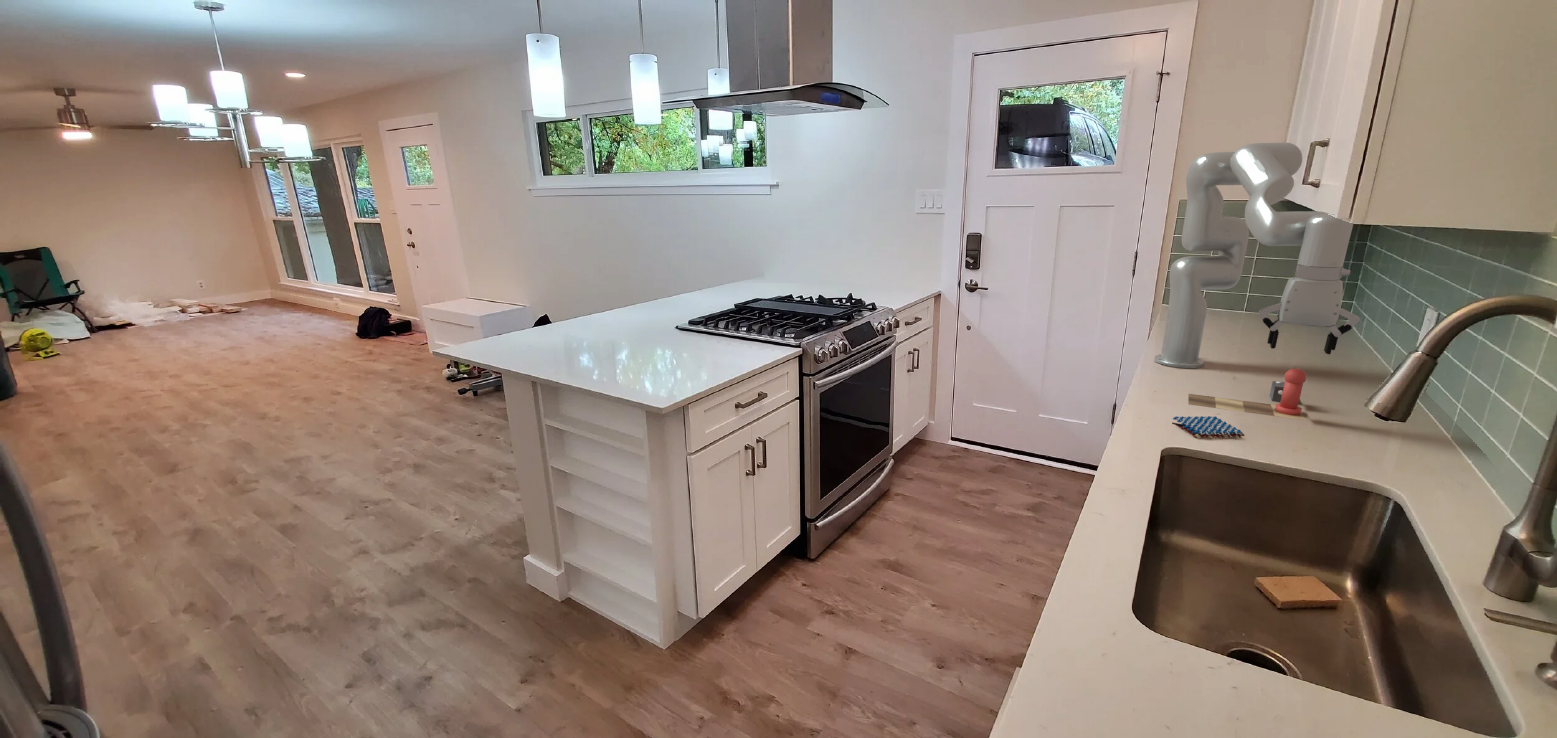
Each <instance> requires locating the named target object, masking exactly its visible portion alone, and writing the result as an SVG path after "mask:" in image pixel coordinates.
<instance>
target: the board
mask: <svg viewBox="0 0 1557 738" xmlns="http://www.w3.org/2000/svg"><path fill="white" fill-rule="evenodd" d="M1187 396H1188V399H1187V400H1188V402H1187V403H1188V405H1189V406H1190V405H1191V406H1198V407H1205V408H1212V409H1213V408H1214V409H1221V410H1228V411H1235V412H1242V413H1248V414H1249V413H1250V414H1256V415H1257V414H1258V415H1265V416H1271V417H1277V418H1279V417H1280V418H1285V419H1286V418H1287V419H1293V420H1301V421H1306V418H1305V415H1304V414H1303V411H1302V410H1301V413H1300V415H1286V414H1281V413H1278V412H1276V411H1275V407H1276V404H1271V403H1265V402H1256V401H1249V400H1248V401H1247V400H1242V399H1241V400H1239V399H1232V398H1225V397H1217V396H1209V395H1202V394H1194V393H1188V395H1187Z"/></svg>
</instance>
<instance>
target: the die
mask: <svg viewBox="0 0 1557 738" xmlns="http://www.w3.org/2000/svg"><path fill="white" fill-rule="evenodd" d="M1284 384H1285V381H1277V380H1272V383H1271V388H1270V393H1269V397H1270V400H1271V402H1276V403H1280V402H1281V398H1282V393H1283V388H1284Z"/></svg>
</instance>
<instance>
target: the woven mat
mask: <svg viewBox="0 0 1557 738" xmlns="http://www.w3.org/2000/svg"><path fill="white" fill-rule="evenodd" d="M1172 420H1177V421H1176V422H1177V423H1176V422H1171V423H1172V425H1175V426H1176V427H1178V428H1180V429H1181V430H1182V431H1184V432H1186V433H1188V434H1189V435H1191V436H1192V437H1193V438H1195V439H1197V440H1198V439H1199V440H1201V439H1205V440H1206V439H1209V440H1210V439H1216V438H1218V439H1219V440H1223V439H1225V440H1226V439H1233V438H1234V439H1236V440H1237V439H1243V437H1245V434H1244V433H1243V432H1242V431H1241V429H1237V428H1236V427H1235V426H1232V425H1231V424H1230V423H1229V424H1228V423H1227V422H1226V421H1223V420H1222V419H1221V418H1218V417H1217V415H1215V416H1196V415H1195V416H1183V415H1182V416H1173V417H1172Z"/></svg>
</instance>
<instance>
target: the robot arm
mask: <svg viewBox="0 0 1557 738" xmlns="http://www.w3.org/2000/svg"><path fill="white" fill-rule="evenodd" d="M1302 153H1303V152H1302V151H1301V149H1300V148H1299V147H1298V146H1297V145H1296V144H1294V143H1291V142H1255V143H1249V144H1246V145H1243V146H1242V147H1239V148H1238V149H1237V150H1235V151H1219V152H1218V151H1217V152H1209V153H1205V154H1202V155H1199V156H1198V157H1195V159H1194V160H1192V162H1191V163H1190V165H1189V167H1188V169H1187V172H1186V177H1185V185H1186V195H1187V197H1186V198H1187V201H1186V202H1187V203H1186V208H1185V212H1184V213H1185V215H1184V222H1183V225H1182V227H1183V228H1182V232H1181V233H1182V235H1181V245H1182V247H1183V248H1184V249H1185V250H1187V251H1189V252H1218V254H1217V255H1189V256H1183V257H1181V258H1178V259H1177V260H1174V262H1172V264H1171V266H1170V269H1169V298H1168V299H1169V301H1168V307H1167V313H1166V322H1165V326H1164V327H1165V328H1164V332H1163V333H1164V334H1163V341H1162V346H1161V350H1160V351H1161V352H1160V354H1157V355H1155V356H1154V362H1155V363H1158V364H1160V365H1162V364H1163V366H1166V365H1167V367H1170V368H1171V367H1172V368H1179V369H1199V368H1202V367H1204V365H1205V361H1204V360H1202V359H1201V358H1200V353H1201V352H1200V351H1201V346H1202V340H1203V334H1204V330H1205V329H1204V328H1205V322H1206V318H1207V317H1206V316H1207V310H1208V304H1207V301H1206V298H1205V296H1203V293H1202V291H1204V290H1205V291H1206V290H1228V289H1231V288H1234V287H1235V286H1237V284H1238V283H1239V281H1240V279H1241V276H1242V273H1243V268H1244V263H1245V258H1246V253H1247V249H1248V248H1247V247H1248V244H1249V237H1250V233H1251V234H1252V236H1253V238H1254V239H1255V240H1256V241H1257V242H1259V243H1260V244H1262V245H1264V246H1268V247H1293V246H1294V247H1300V250H1299V251H1300V252H1299V255H1298V259H1297V264H1296V268H1295V272H1294V273H1295V274H1294V277H1289V278H1288V280H1287V282H1286V284H1285V287H1284V290H1283V293H1282V295H1281V299H1280V302H1278V303H1276V304H1272V305H1269V306H1266V307H1263V308H1260V309H1258V313H1259V315H1260V317H1261V319H1262V322H1263V324H1264V325H1265V326H1266V327H1267V328H1268V329H1269V333H1268V338H1267V342H1266V343H1267V344H1268V345H1269V346H1270V349H1276V347H1277V344H1278V343H1277V342H1278V338H1279V333H1280V331H1279V329H1280V328H1282V327H1283V326H1284V325H1292V326H1293V325H1294V326H1303V327H1304V326H1305V327H1316V328H1328V330H1329V331H1330V332H1329V333H1328V334H1327V336H1326V337H1327V338H1326V341H1325V345H1324V349H1323V351H1324V354H1326V355H1331V353H1332V351H1335V350H1336V347H1337V344H1338V339H1339V337H1342V335H1344V334H1345V333H1347V332H1350V331H1351V330H1352V329H1353V327H1355V325H1357V324H1359V322H1360V321H1361V318H1360V317H1359V316H1358V315H1356V314H1354V313H1353V312H1350V311H1349V310H1346V309H1344V308H1342V301H1343V293H1344V292H1343V291H1344V289H1343V288H1344V287H1343V286H1344V285H1343V281H1342V280H1341V279H1342V277H1350V275H1351V270H1350V269H1346V268H1344V264H1345V263H1344V262H1345V259H1346V255H1347V250H1348V248H1349V247H1348V246H1349V242H1350V238H1351V235H1352V231H1353V227H1354V222H1353V223H1349V222H1346V221H1343V220H1340V219H1338V218H1335V217H1333V216H1331V215H1332V214H1331V215H1328V214H1329V213H1328V212H1325V211H1301V210H1300V211H1276V210H1275V209H1274V208H1273V207H1272V205H1275V204H1276V203H1278V202H1280V201H1282V200H1283V199H1285V198H1286V197H1287V196H1288V195H1290V193H1291V192H1292V190H1293V188H1294V186H1295V180H1294V178H1293V176H1294V175H1295V174H1296V173H1297V172H1299V169H1300V168H1301V166H1302V163H1303V154H1302ZM1217 186H1242V188H1244V190H1245V191H1246V193H1247V194H1248V196H1249V198H1248V200H1247V202H1246V205H1245V209H1244V219H1243V218H1241V217H1238V216H1223V209H1224V202H1225V201H1224V196H1223V195H1222V192H1221V191H1220V188H1218V187H1217ZM1273 312H1277V319H1275V320H1274V321H1272V320H1271V319H1270V318H1269V316H1268V315H1269V314H1270V313H1273ZM1340 316H1341V317H1344V318H1345V319H1347V321H1346V322H1345V323H1344V324H1342V325H1340V326H1339V327H1337V326H1336V325H1337V324H1338V322H1339V319H1340Z"/></svg>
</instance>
